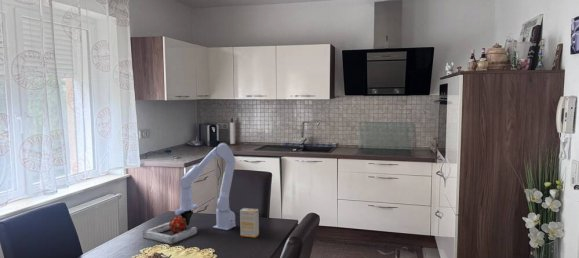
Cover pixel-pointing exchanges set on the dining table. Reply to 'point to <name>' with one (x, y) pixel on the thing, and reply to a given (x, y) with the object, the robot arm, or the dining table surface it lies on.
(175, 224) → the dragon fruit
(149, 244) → the dining table surface
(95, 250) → the dining table surface
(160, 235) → the grey u-shaped bracket
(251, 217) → the supplement box
